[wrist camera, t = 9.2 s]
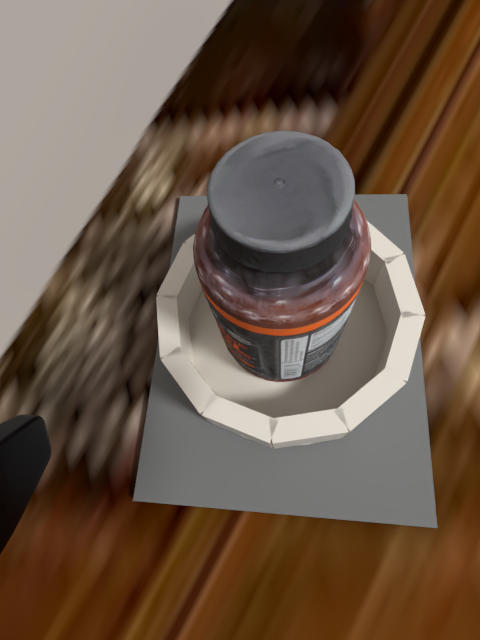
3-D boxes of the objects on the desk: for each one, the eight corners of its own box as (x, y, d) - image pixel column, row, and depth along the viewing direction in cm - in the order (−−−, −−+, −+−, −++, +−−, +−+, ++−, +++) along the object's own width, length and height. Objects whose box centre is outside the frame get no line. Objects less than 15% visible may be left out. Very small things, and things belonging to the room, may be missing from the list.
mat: (434, 526, 18) (437, 528, 18) (135, 500, 20) (132, 500, 20) (405, 198, 25) (407, 194, 24) (181, 200, 27) (180, 196, 26)
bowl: (450, 344, 21) (480, 319, 18) (269, 500, 19) (265, 504, 16) (296, 202, 25) (298, 160, 22) (136, 318, 23) (112, 292, 20)
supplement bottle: (203, 318, 22) (129, 167, 11) (292, 259, 23) (300, 69, 12) (267, 410, 20) (248, 327, 9) (363, 342, 21) (446, 195, 10)
